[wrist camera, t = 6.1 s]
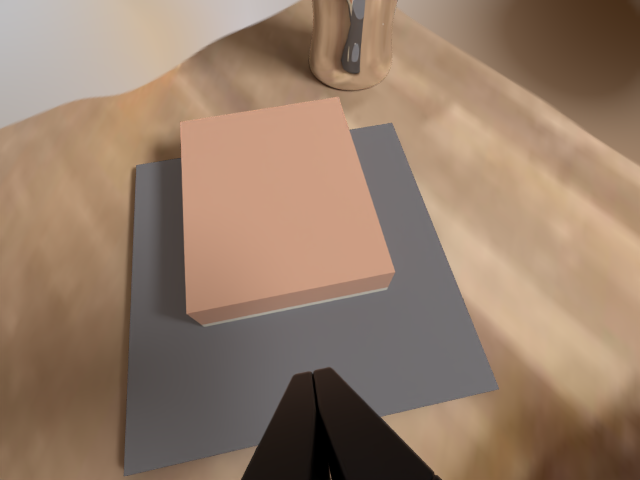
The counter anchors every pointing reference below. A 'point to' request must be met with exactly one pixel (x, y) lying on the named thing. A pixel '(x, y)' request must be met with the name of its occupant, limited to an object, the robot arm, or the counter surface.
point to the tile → (276, 213)
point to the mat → (289, 327)
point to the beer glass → (351, 42)
